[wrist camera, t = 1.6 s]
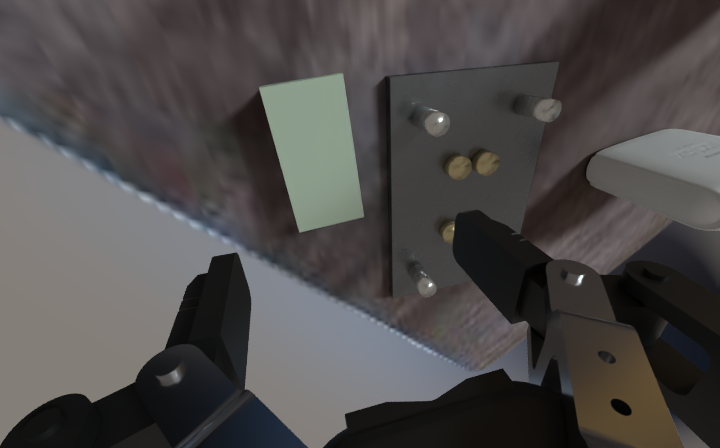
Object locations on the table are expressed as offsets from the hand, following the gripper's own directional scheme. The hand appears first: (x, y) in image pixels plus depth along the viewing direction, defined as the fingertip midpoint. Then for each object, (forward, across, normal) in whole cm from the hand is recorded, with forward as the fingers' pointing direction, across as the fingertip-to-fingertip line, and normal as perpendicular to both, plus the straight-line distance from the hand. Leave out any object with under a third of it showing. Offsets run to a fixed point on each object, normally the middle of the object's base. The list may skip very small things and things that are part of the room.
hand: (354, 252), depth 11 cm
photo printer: (+15, -32, +5) cm, 36 cm away
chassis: (+15, -13, +6) cm, 21 cm away
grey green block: (+15, 0, 0) cm, 15 cm away
